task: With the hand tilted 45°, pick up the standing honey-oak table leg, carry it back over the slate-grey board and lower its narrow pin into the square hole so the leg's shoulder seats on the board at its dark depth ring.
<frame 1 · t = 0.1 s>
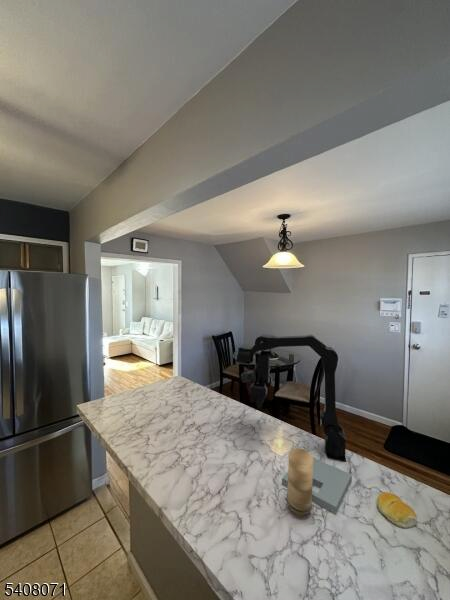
hand: (261, 403, 101), 15 cm above the countertop, tool pointing down, fingers open, 9 cm apart
oak leg: (299, 510, 68), on the countertop
slate board: (312, 490, 75), on the countertop
bread roll: (395, 515, 68), on the countertop
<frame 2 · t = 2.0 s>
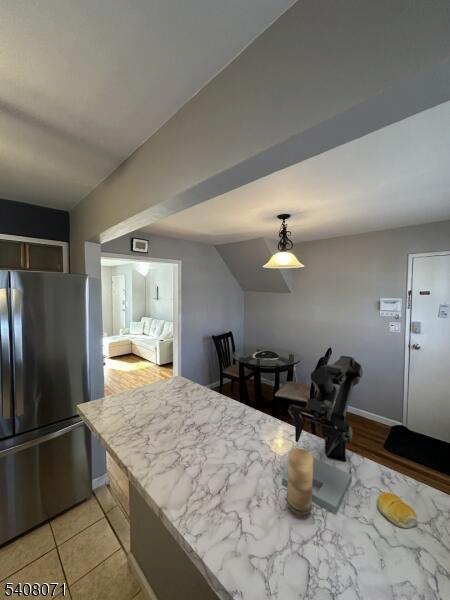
hand: (310, 448, 74), 13 cm above the countertop, tool tilted 45°, fingers open, 9 cm apart
nothing on the countertop moved.
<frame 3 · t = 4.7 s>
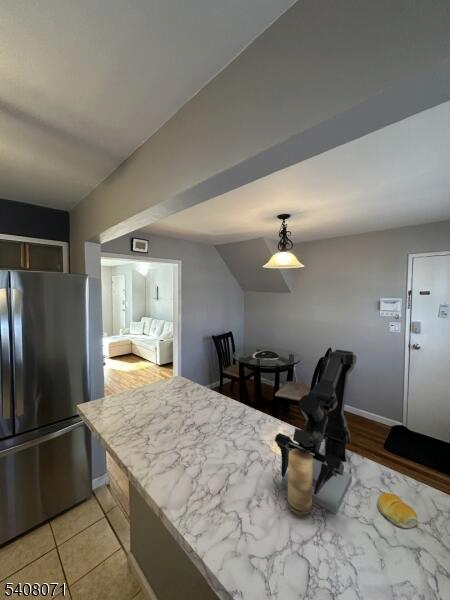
hand: (297, 485, 67), 8 cm above the countertop, tool tilted 45°, fingers open, 9 cm apart
oak leg: (299, 510, 68), on the countertop, touching gripper
everything else where it was.
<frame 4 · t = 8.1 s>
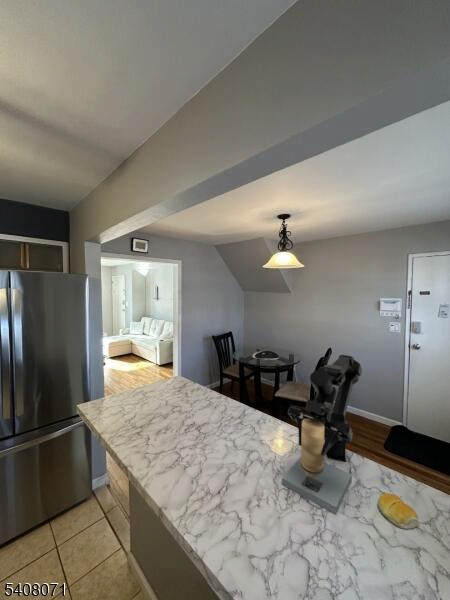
hand: (310, 450, 73), 13 cm above the countertop, tool tilted 45°, fingers closed on oak leg, 6 cm apart
oak leg: (311, 472, 75), point 6 cm above the countertop, touching gripper
everything else where it was.
when the fingers open (8 cm above the countertop, at t = 11.0 s): oak leg stays where it is, resting on slate board.
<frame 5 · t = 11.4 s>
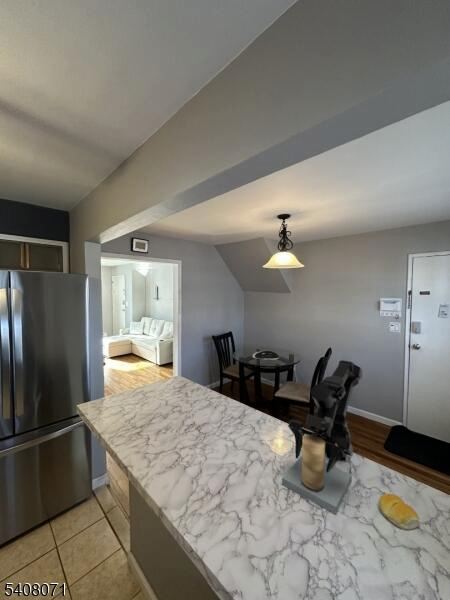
hand: (311, 464, 74), 8 cm above the countertop, tool tilted 45°, fingers open, 9 cm apart
oak leg: (312, 489, 75), resting on slate board
everything else where it was.
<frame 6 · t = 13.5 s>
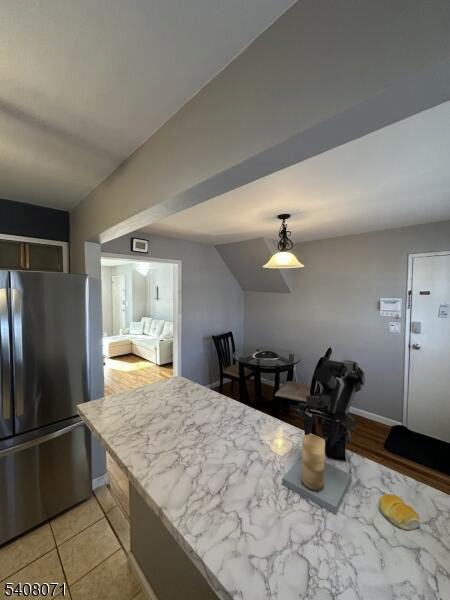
hand: (317, 441, 79), 12 cm above the countertop, tool tilted 35°, fingers open, 9 cm apart
nothing on the countertop moved.
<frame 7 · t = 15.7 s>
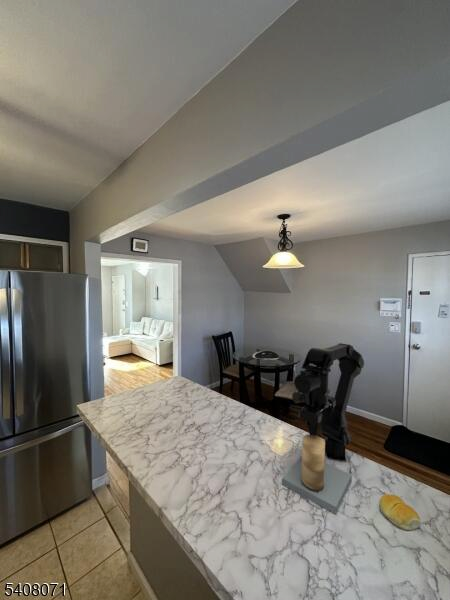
hand: (317, 432, 84), 13 cm above the countertop, tool pointing down, fingers open, 9 cm apart
nothing on the countertop moved.
at the end: oak leg 0.1 cm off-centre on the slate board, point 0.2 cm above the slate board's base; oak leg tilted 0°; the gripper is holding nothing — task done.
